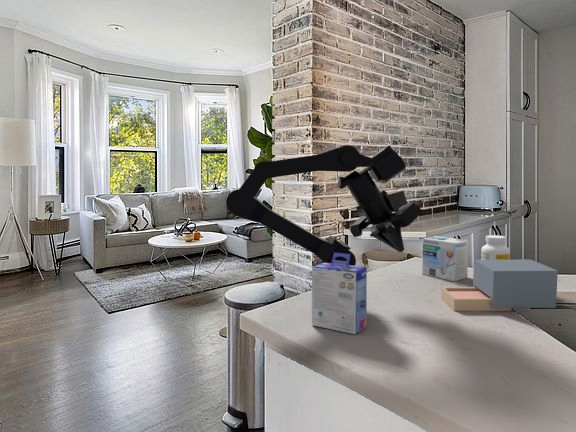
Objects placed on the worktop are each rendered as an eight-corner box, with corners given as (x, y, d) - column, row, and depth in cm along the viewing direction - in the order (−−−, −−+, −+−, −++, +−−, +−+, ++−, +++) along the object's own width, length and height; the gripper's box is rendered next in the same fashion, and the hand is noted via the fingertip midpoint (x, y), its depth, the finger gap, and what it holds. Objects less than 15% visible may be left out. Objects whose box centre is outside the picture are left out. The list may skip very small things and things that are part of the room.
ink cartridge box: (368, 326, 81) (368, 254, 80) (357, 336, 77) (356, 260, 75) (324, 317, 87) (323, 250, 85) (311, 326, 82) (309, 255, 80)
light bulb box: (421, 274, 120) (421, 238, 119) (434, 270, 124) (435, 235, 123) (455, 281, 111) (456, 242, 110) (468, 277, 115) (469, 239, 114)
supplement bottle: (511, 284, 108) (513, 236, 106) (504, 290, 103) (506, 239, 102) (485, 280, 112) (486, 233, 111) (476, 285, 108) (478, 237, 106)
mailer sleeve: (492, 307, 87) (493, 271, 86) (472, 292, 98) (473, 259, 97) (555, 307, 87) (557, 270, 86) (529, 292, 97) (530, 259, 96)
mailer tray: (453, 310, 89) (454, 299, 89) (441, 297, 98) (441, 287, 98) (511, 310, 88) (511, 299, 88) (493, 297, 97) (493, 287, 97)
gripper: (417, 166, 89) (452, 226, 91) (362, 186, 105) (393, 236, 107) (387, 192, 83) (426, 255, 86) (334, 209, 99) (368, 261, 102)
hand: (402, 251), depth 95 cm, fingers closed
